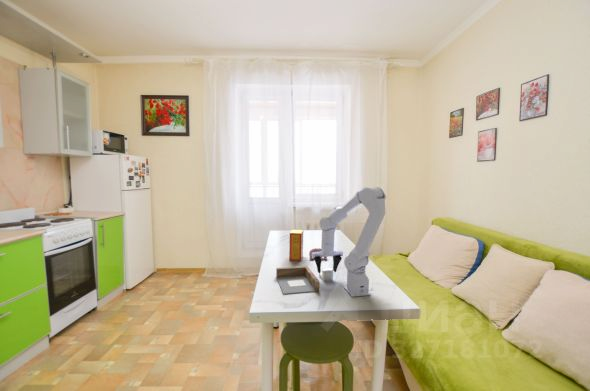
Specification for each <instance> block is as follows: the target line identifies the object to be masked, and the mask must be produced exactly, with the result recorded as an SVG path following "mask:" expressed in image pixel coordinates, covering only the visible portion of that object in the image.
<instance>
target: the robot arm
mask: <svg viewBox="0 0 590 391" xmlns="http://www.w3.org/2000/svg"><path fill="white" fill-rule="evenodd" d="M386 198H387V196H386V194H385V192H384V190H383V189H382V188H381V187H379V186H374V187H363V188H361V189H360V190H359V191H357V192H356V193H355V194H354V196H352V197H351V198H350V199H349V200H348V201H347V202H346V203H345V204H343V206H336V207H334V208H333V210H332V211H331V212H330V213H328V214H327V216H323V217H321V219H320V220H319V224H318V225H319V227H320V229H321V248H320V249H321V251H319V252H312V259H314V262H315V265H316V270H317V273H318V274H319V273H320V272H322V269H321V268H322V266H321V265H322V258H324V257H332V258H333V259H332V260H333V261H332V262H333V264H332V270H333V273H336V272H337V270H338V267H339V264H340V263H341V261H342V257H344V251H342V250H335V232H336V229H337V227H338V225H339V224H340V223H341V222H343V221H344V220H345V219H347V217H348V213H349V212H351V211H353V210H354V209H355V208H356V207H358V206H360V204H362V205H363V206H364V207H365V209H367V211H368V213H369V214H368V217H367V219H366V221H365V223H364V225H363V228H362V230H361V233H360V235H359V237H358V239H357V241H356V244H355V247H354V248H353V249H352V250H351V251H350V252H349V254H348V255H347V256H346V257H345V258H344V261H343V263H344V266H345V269H346V271H347V272H346V274H347V275H346V278H347V279H346V285H343V286H342V287H343V288H344V289H345V291H347V293H348V294H350V296H351V297H361V296H371V293H370V292H369V288H370V279H369V277H368V276H367V274H366V267H367V265H368V264H369V260H370V258H369V257H370V255H371V254H370V252H369V250H370V248H371V246H372V243H373V242H374V239H375V237H376V234H377V233H378V231H379V228H380V226H381V224H382V222H383V220H384V217H385V215H386ZM320 257H322V258H321V259H320Z"/></svg>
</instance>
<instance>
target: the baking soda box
mask: <svg viewBox="0 0 590 391" xmlns="http://www.w3.org/2000/svg"><path fill="white" fill-rule="evenodd" d="M303 250H304V230H303V229H291V231H290V232H289V256H288V258H289V259H288V260H289V261H291V262H292V261H293V262H301V261H302V259H303V254H304V251H303Z"/></svg>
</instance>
